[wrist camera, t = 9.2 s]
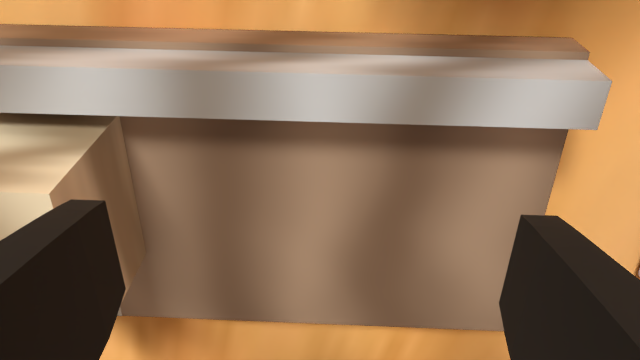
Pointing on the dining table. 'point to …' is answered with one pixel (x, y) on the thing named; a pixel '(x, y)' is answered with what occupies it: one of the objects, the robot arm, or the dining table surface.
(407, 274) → the marking board
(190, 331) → the dining table surface
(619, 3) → the dining table surface
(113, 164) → the block
